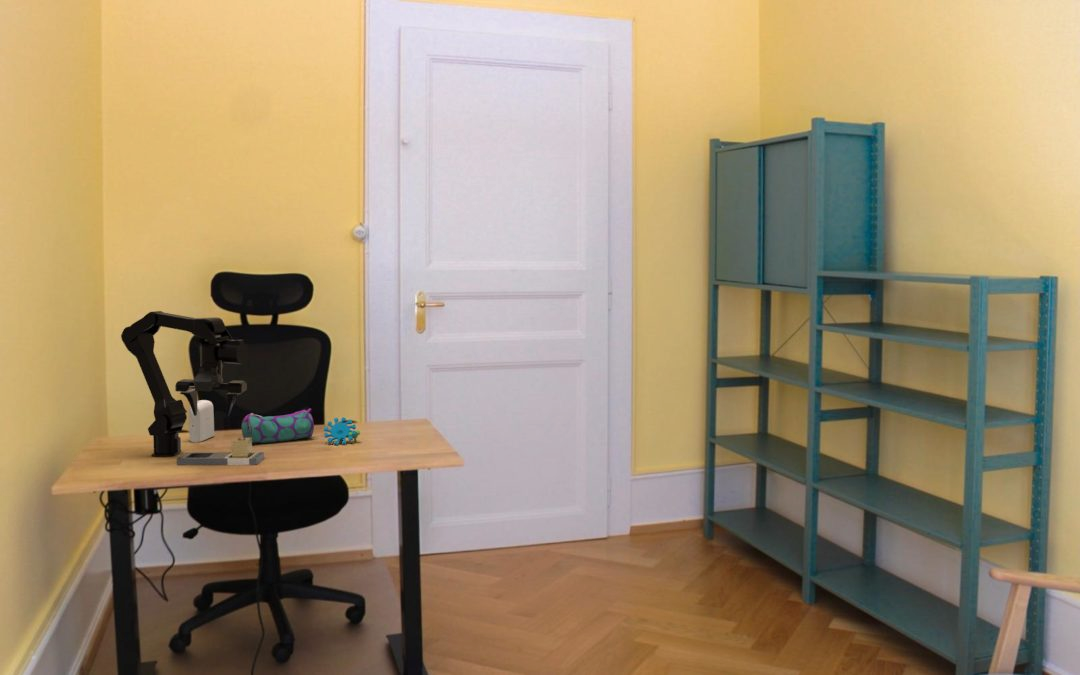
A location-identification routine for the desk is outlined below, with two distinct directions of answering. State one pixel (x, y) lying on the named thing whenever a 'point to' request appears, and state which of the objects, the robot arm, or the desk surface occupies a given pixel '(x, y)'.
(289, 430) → the pencil case
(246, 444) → the wooden pull-out drawer
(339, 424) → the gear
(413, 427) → the desk surface
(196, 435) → the photo printer
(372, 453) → the desk surface
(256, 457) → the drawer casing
